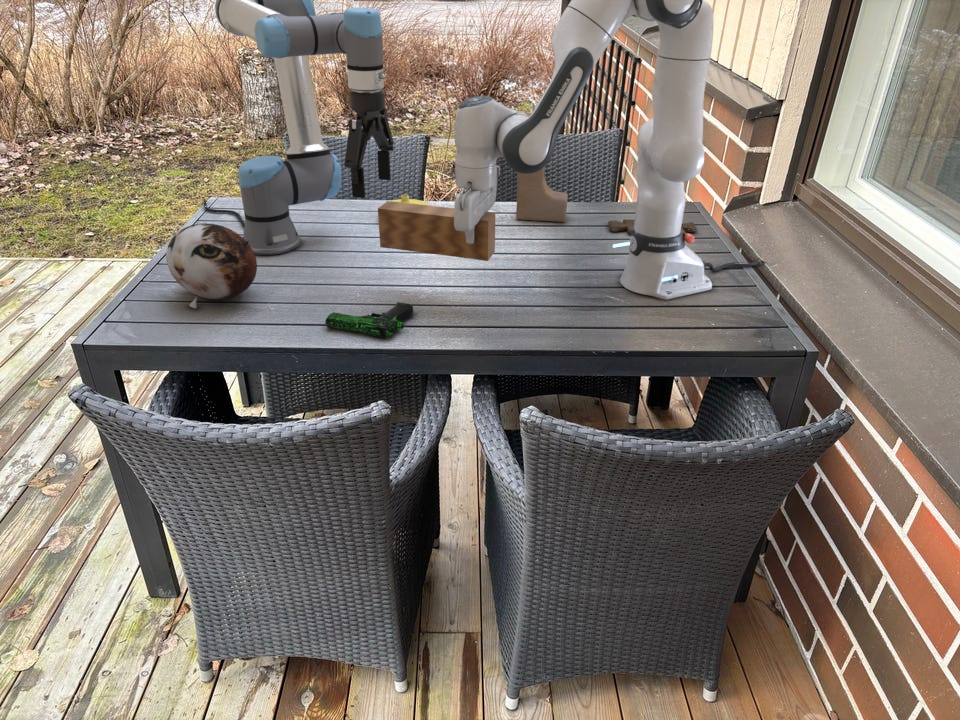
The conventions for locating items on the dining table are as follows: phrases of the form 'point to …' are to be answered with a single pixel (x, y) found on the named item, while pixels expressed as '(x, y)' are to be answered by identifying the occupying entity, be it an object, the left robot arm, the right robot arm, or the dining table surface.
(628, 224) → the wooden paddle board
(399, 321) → the handgun
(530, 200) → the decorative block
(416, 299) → the dining table surface
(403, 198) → the yellow pattypan squash
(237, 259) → the cat face balloon
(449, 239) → the bar
